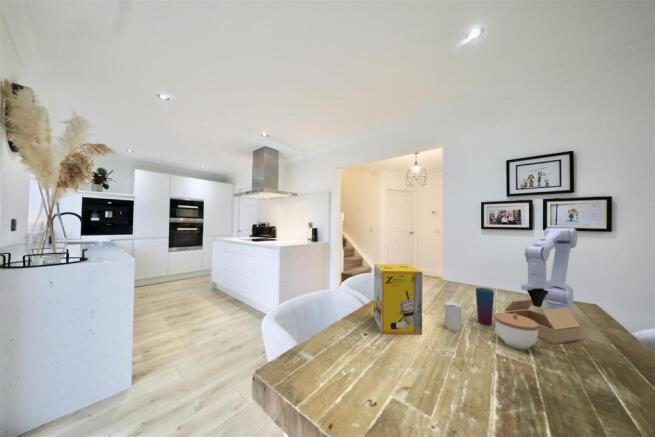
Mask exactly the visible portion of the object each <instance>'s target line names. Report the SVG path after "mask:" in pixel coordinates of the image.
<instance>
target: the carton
mask: <svg viewBox="0 0 655 437" xmlns="http://www.w3.org/2000/svg"><path fill="white" fill-rule="evenodd" d="M504 313H511V314H513V313H515V314H517V315H520V316H524V317H527V318H529V319H532V320H534V321H535V322H537V323H538V325H539V328H538V337H537V339H540V340H543V341H546V342H548V343H550V344H552V345H557V344H562V343H563V344H564V343H569V342H577V341H580V340H581V334H580V332H581V331H580V330H581V326H579V327H571V328H563V329H555V330H554V329H553V328H552V326H551V325H550V323H549V322H548V320H547V319H546V317H545V316H544V314H543V313H539V312H536V311H533V310H530V309H524V310H514V311H505V312H504Z"/></svg>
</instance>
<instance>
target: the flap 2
mask: <svg viewBox="0 0 655 437" xmlns="http://www.w3.org/2000/svg"><path fill="white" fill-rule="evenodd" d="M540 311H541V312H542V315H544V316H545V317H546V319H547V320H548V322H549V323H550V325H551V326H552V328H553V329H554V330H555V329H563V328H571V327H581V325H580V323H579V322H578V321H577V318H575V316H574V314H573V315H572V314H571V312H570V311H569V309H568V308H556V309H546V310H545V309H541V310H540Z"/></svg>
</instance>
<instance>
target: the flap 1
mask: <svg viewBox="0 0 655 437" xmlns="http://www.w3.org/2000/svg"><path fill="white" fill-rule="evenodd" d="M531 307H533V303H532V300H531V298H528V299H517V300H515V299H514V300H512V302H511V303H509V305H508V306H507V307H506V308H505V309H504V311H505V312H510V311H521V310H530V308H531Z"/></svg>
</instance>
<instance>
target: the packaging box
mask: <svg viewBox="0 0 655 437" xmlns="http://www.w3.org/2000/svg"><path fill="white" fill-rule="evenodd" d="M373 265H374V266H373V269H374V270H373V272H374V273H373V287H374V288H373V318H374V320H375V323H376V325H377V326H378V329H379V331H380V333H381V335H386V334H387V335H390V334H391V335H423V271H421V270H420V269H418V268H416V267H414V266H412V265H411V264H386V263H385V264H383V263H380V264H379V263H378V264H377V263H374V264H373Z"/></svg>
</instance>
